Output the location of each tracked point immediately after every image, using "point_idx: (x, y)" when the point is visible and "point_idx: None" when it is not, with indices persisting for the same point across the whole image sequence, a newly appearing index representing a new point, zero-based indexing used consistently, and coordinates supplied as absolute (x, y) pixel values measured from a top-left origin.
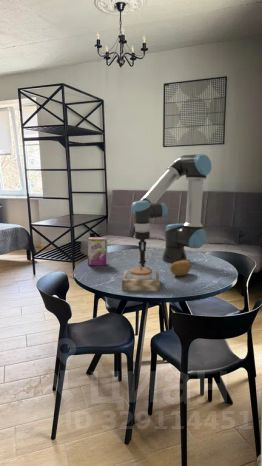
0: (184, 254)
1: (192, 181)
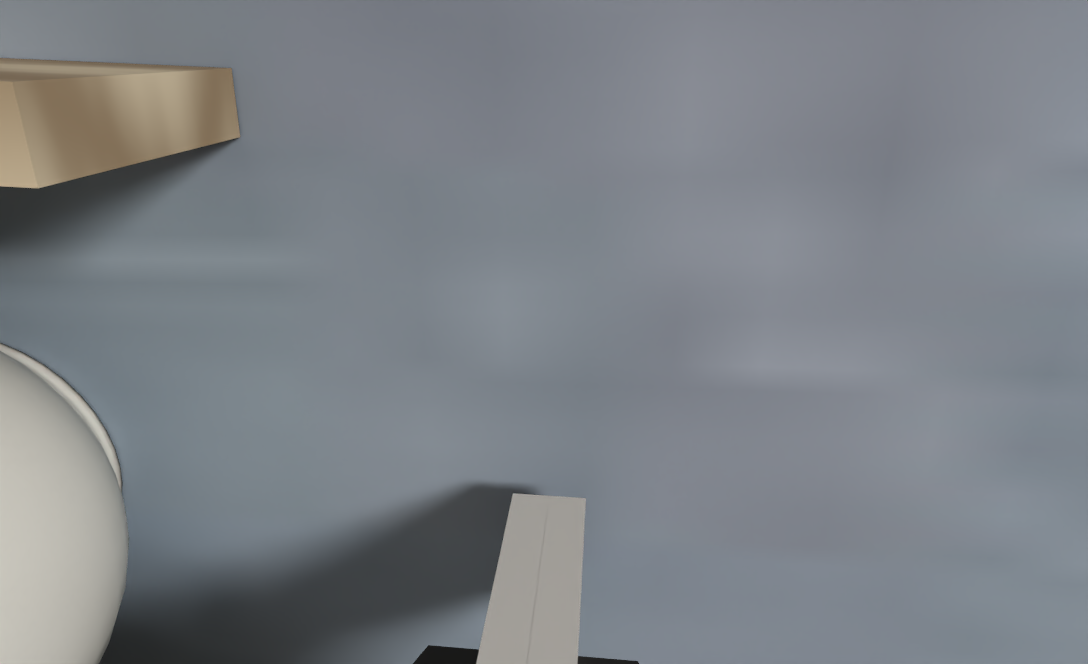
0: None
1: None
